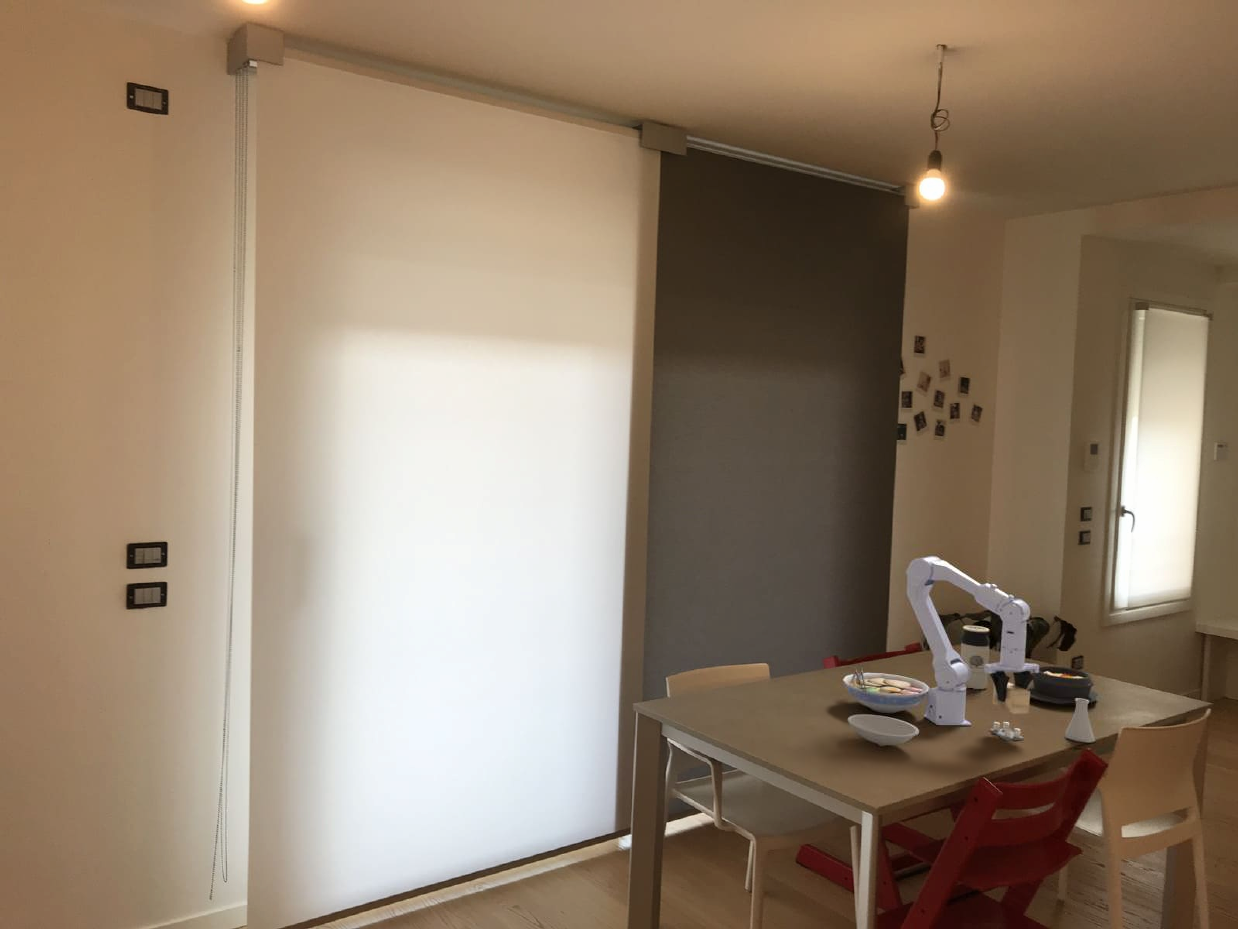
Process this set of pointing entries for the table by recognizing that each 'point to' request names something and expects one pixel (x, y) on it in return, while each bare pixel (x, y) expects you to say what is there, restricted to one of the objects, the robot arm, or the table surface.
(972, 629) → the travel mug
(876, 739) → the dish
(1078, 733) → the flask
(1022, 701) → the wooden block
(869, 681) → the ramen bowl
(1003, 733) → the peg stand
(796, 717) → the table surface
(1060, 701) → the casserole
